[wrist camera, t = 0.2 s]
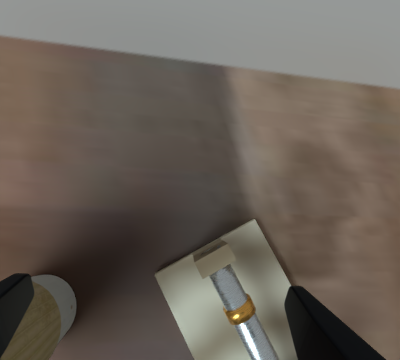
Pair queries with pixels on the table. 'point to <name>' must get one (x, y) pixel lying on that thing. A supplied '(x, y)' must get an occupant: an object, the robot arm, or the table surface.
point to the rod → (242, 314)
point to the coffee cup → (43, 320)
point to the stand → (211, 303)
